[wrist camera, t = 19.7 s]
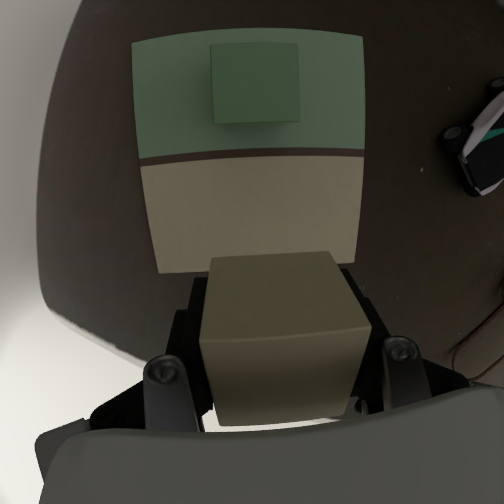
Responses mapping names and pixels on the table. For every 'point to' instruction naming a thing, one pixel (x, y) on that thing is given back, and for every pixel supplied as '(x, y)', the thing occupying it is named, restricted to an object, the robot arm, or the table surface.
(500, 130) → the toy car
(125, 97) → the table surface
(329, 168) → the board
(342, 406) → the cream block
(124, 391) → the robot arm
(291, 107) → the sage block
